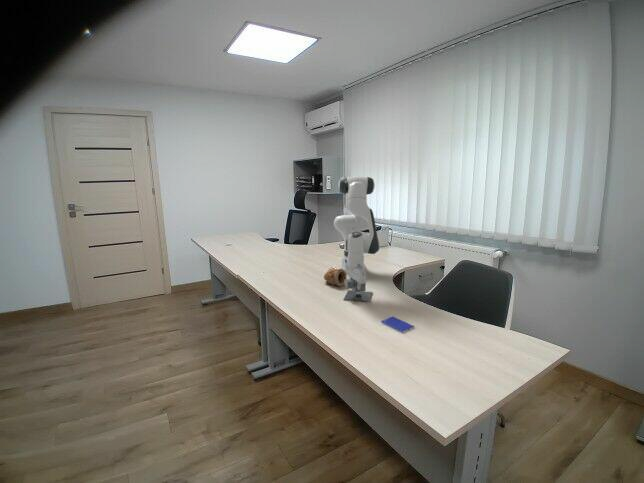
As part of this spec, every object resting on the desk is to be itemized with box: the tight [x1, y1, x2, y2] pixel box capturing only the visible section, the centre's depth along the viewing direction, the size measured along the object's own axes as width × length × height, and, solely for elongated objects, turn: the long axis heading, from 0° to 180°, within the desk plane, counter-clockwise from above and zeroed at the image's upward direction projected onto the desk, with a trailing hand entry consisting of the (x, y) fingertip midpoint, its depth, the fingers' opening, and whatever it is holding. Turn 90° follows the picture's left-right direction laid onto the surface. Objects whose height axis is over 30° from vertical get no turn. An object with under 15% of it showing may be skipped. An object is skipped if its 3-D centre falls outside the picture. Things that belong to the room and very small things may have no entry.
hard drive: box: [380, 316, 415, 334], centre depth 146 cm, size 2×8×12 cm
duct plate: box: [343, 289, 373, 303], centre depth 181 cm, size 14×14×4 cm
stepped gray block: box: [344, 278, 367, 292], centre depth 179 cm, size 10×6×6 cm, turn 107°
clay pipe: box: [323, 268, 348, 287], centre depth 204 cm, size 19×11×15 cm
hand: (355, 286), depth 179 cm, fingers closed on stepped gray block, 6 cm apart
